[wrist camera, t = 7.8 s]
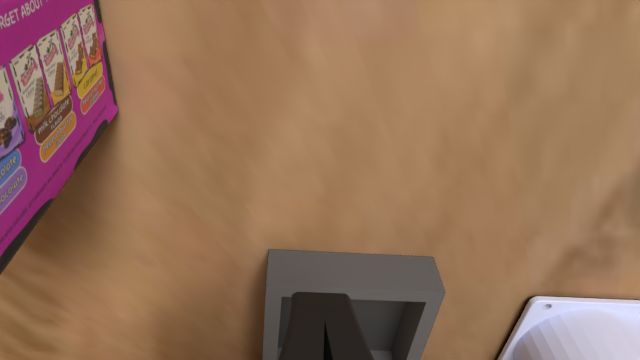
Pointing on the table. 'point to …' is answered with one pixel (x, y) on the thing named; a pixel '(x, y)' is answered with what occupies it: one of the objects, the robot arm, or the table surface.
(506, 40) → the table surface
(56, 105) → the candy bar box
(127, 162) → the table surface
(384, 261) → the box
